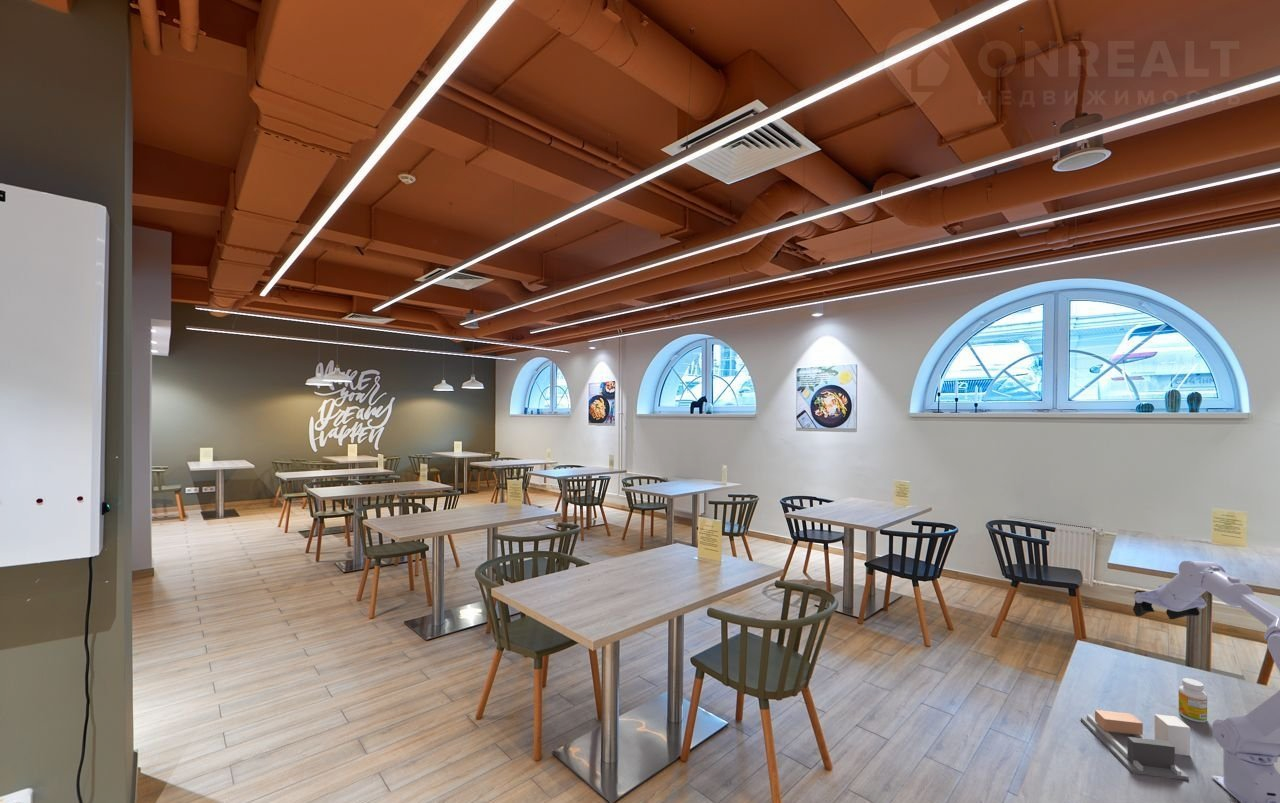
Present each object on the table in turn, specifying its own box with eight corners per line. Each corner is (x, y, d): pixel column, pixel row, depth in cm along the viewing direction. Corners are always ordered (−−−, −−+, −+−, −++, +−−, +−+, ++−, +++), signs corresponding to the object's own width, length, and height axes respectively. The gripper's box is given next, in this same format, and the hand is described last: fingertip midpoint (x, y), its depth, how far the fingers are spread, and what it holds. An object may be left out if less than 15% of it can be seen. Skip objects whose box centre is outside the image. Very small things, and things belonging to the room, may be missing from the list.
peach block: (1142, 734, 132) (1142, 723, 132) (1104, 730, 134) (1104, 719, 134) (1131, 725, 136) (1131, 713, 136) (1094, 721, 138) (1095, 709, 138)
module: (1190, 755, 128) (1190, 727, 127) (1168, 753, 129) (1168, 725, 128) (1175, 743, 132) (1175, 716, 132) (1154, 741, 133) (1154, 714, 133)
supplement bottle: (1176, 708, 146) (1177, 674, 146) (1204, 715, 143) (1205, 680, 143) (1180, 717, 142) (1180, 682, 142) (1209, 725, 139) (1209, 689, 139)
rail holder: (1188, 780, 120) (1188, 753, 119) (1132, 772, 122) (1132, 746, 122) (1128, 725, 139) (1128, 702, 139) (1080, 720, 142) (1080, 697, 141)
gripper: (1206, 579, 134) (1176, 602, 143) (1139, 573, 137) (1114, 597, 146) (1223, 605, 129) (1190, 628, 138) (1153, 599, 132) (1126, 622, 141)
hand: (1152, 614), depth 142 cm, fingers open, 7 cm apart
